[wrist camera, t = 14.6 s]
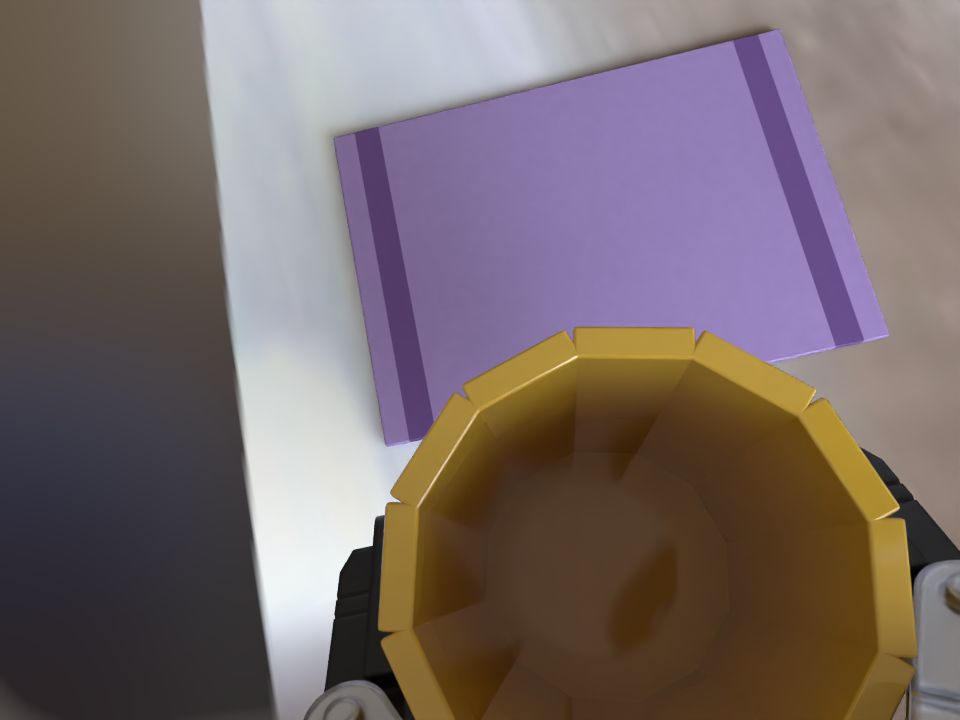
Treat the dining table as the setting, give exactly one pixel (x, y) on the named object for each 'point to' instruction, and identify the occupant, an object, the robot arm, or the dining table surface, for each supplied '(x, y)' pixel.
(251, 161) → the dining table surface
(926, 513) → the robot arm
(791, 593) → the tumbler
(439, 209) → the cloth
